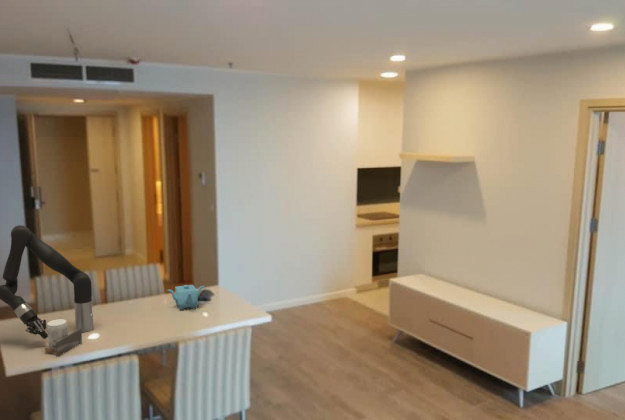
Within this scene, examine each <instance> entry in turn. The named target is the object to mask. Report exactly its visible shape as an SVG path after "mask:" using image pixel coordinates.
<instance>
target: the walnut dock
mask: <svg viewBox="0 0 625 420" xmlns="http://www.w3.org/2000/svg"><path fill="white" fill-rule="evenodd" d="M82 333H83V332H81V329H78V330H77V331H76V330H75V331H73V332H71V333H68V335H67V336H65V337H63V338H62V339H60V340H58V341H56V348H49V346H46V347H44V353H45V354H47V355H52V354H53V355H55V356H56V357H57V356H58V358H59V357H61V356H62V355H64V354H66V353H68V352H69V351H71V350H73V349H74V348H76V347H78V346H80V345H81V344H83V336H82V335H83V334H82ZM79 344H80V345H79ZM77 345H78V346H77ZM75 346H76V347H75ZM72 348H73V349H72ZM70 349H71V350H70ZM65 352H66V353H65ZM63 353H64V354H63ZM61 354H62V355H61ZM60 355H61V356H60Z"/></svg>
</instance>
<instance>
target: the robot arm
mask: <svg viewBox="0 0 625 420" xmlns="http://www.w3.org/2000/svg"><path fill="white" fill-rule="evenodd" d="M10 239H11V241H10V250H9V254H8V256H7V259H6V263H5V266H4V270H3V274H2V279H3V280H4V281H5V284H1V285H0V300H1V301H2V302H4V303H5V304H7V305H8V307H10V308H11V309H12V311H14V313H15V315H16V316H17V318H18V319H19V320H20V321H21V323H23V324H24V325H26V326H25V327H27V328H26V329H25V332H27V333H29V334H33V335H35V336H36V335H39V336H40V337H41V338H42V339H43V340H45V339H48V332H46V329H47V320H46V319H43V320H42V319H41V318H40V317H38V314H37V313H36V312H35V311H34V310H35V309H33V308H32V307H31V306H30V305H29V304H28V303H27V301H25V299H24V298H23V297H22V296H20V295H16V294H17V291H18V289H19V288H18V287H19V285H18V283H19V281H18V276H19V273H20V269H21V265H22V264H21V262H22V260H23V255H24V251H25V248H28V249H29V250H30V251H31V252H32V253H33V254H34V256H35V257H36V258H37V259H39V261H41V263H42V264H44V265H45V266H46V267H48V268H49V269H51V270H52V271H55V272H56V273H59V274H61V275H62V276H64V277H65V278H66V279H68V281H70V282H71V283H72V284H73V294H74V295H73V296H74V297H73V301H74V302H73V303H74V319H75V321H74V322H75V324H74V325H75V331H77V330H78V329H81V332H82V333H86V332H91V331H93V330H94V314H93V302H92V297H93V293H92V290H93V289H92V281H91V280H92V279H91V278H90V275H88V274H87V273H85V272H84V271H82V270H81V269H80V268H77V267H76V266H74V265H73V264H72V263H71V262H70V261H69V260H68V259H67V258H65V256H63V255H62V253H60V252H58V251H57V250H56V249H55V248H53V247H52V246H51V245H49V244H47V243H46V242H45V241H43V240H41V239H40V238H39V237H37V235H36V234H35V233H33V231H31V230H30V228H29V227H27V226H25V225H16V226H14V227H13V228H12V229H11V231H10Z"/></svg>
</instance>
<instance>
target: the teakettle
mask: <svg viewBox="0 0 625 420" xmlns="http://www.w3.org/2000/svg"><path fill="white" fill-rule="evenodd" d="M204 287H205V285H201V286H199V287H198V289H197V288H196V286H194V285H193V284H184V285H179V286H175V287H174V289H166V291H167V292H169V293H170V294H171V297H172V299H173V300H174V303H175V304H176V305H177V307H178V308H179V310H180V311H184V310H185V309H186V308H190V309H196V307H198V305H199V304H198V303H199V302H198V298H199V297H200V294H201V291H202V289H203V288H204ZM173 290H175V291H173Z"/></svg>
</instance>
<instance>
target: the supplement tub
mask: <svg viewBox="0 0 625 420" xmlns="http://www.w3.org/2000/svg"><path fill="white" fill-rule="evenodd" d="M67 322H68V321H67V320H66V319H64V318H62V319H61V318H59V319H53V320H50V321H48V322H46V329H47V332H46V333H47V334H48V337H47V340H48V347H49V348H56V341H58V340H60V339H62V338H63V337H65V336H67V335H69V333H68V332H69V331H68V323H67Z"/></svg>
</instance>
